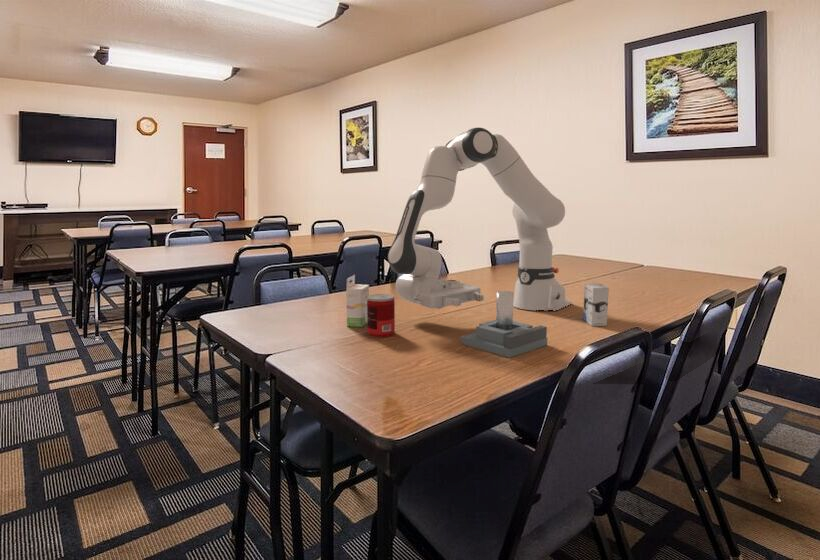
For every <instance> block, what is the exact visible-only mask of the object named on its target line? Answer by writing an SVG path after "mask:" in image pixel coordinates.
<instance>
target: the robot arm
mask: <svg viewBox="0 0 820 560" xmlns="http://www.w3.org/2000/svg"><path fill="white" fill-rule="evenodd" d="M478 164H481V165H483V166H485V168H486V169H487V171H488V172H489V174H490V175H491V177H492V178H493V180H494V181H495V183H496V184H497V185H498V187H499V188H500V189H501V191H502V192H503V193H504V194H505V196H507V197H508V198H509V199H510V200H511V201H513V202H514V204H513V206H512V216H513V218H514V220H515V224H516V230H517V234H518V243H519V265H518V266H517V270H516V271H517V277H518V278H517V280H516V282H515V285H514V286H515V287H514V302H513V308H516V309H521V310H527V311H536V310H537V311H538V310H544V311H548V310H553V311H552V312H557V311H556V310H558V311H560V310H562V309H564V308H566V307H568V305H569V306H570V304H571V305H572V304H573V303H572V300H570V299H566V289H565V286H563V285H562V284H561V283H560V282H559V281H558V280H557V279H556V278H555V277H556V276H555V274H559V272H560V271H559V270H560V269H559V267H553V243H552V241H551V239H550V236H549V231H548V229H550V228H553V227H556V226H558V225H560V223H561V222H562V221H564V218H565V216H566V215H565V214H566V207H565V204H564V203H563V201H561V200H560V199H559V198H557V197H556V196H555V195H554V194H552V193H551V191H549V189H548V188H547V187H546V186H545V185H544V184H543V183H542V182H541V181H540V180H539V179H537V178H538V177H536V176H535V175H534V173H532V171H531V170H530V168H529V167H528V165H527V164H526V162H525V161H524V159H522V157H521V156H520V154H519V153H518V151H517V150H516V149H515V147H514V146H513V144H511V143H510V141H509V140H507V139H506V138H505V137H504V136H503V135H502V134H497V133H495V134H492V132H491V131H489V130H488V129H486V128H483V127H472V128H470V129H468V130H466V131H463V132H461V133H459V134H458V135H457V136H455V137H454V138H453V139H451V140H449V141H448V142H447V143H446V144H445V145H437V146H434V147H432V148H431V149H430V150H429V151H428V154H427V156H426V158H425V162H424V165H423V168H422V172H421V177H420V178H421V179H420V182H419V185H418V188H416V190H414V191H413V192H412V193H411V194H410V196H409V197H408V200H407V202H406V205H405V206H404V207H405V208H404V211H403V213H402V216H401V220H400V223H399V225H398V228H397V231H396V232H397V233H396V235H395V238H394V239H393V242H392V244H391V246H390V248H389V250H388V253H387V260H388V264H389V267H390V269H391V270H392V271H393V272H394V273H395V274H398V275H399V274H401V275H400V276H398V277H397V279H396V281H395V285H394V286H395V292H396V293H397V295H398V296H399V297H400V298H401V299H403V300H405V301H406V302H408V303H409V302H410V303H413V304H417V305H421V306H423V307H425V308H429V309H437V310H438V309H443V308H444V307H445V308H446V307H449V306H453V307H458V306H461V305H462V304H464V303H468V302H472V301H473V302H474V301H476V302H483V301H484V300H485V296H484V294H482V293H481V292H482V291H481V288H480V287H479V286H477V285H473V284H469V283H466V282H465V283H464V282H460V280H457V279H447V280H446V279H443V278H440V277H441V274H442V271H443V266H444V265H443V263H444V262H443V258H442V254H441V253H440V251H439V250H437V249H434V248H432V247H428V246H426V245H425V246H424V245H421V244H418V243H416V242H415V238H416V236H417V235H416V234H417V233H418V230H419V229H418V228H419V225H420V222H421V219H422V217H423V215H424V214H425V213H427V212H430V211H434V210H440V209H443V208H445V207H447V206H448V205H449V204H450V203H451V202H452V200H453V197H454V195H455V190H456V185H457V184H456V183H457V178H458V173H459V172H461V171H464V170H467V169H471V168H473V167H476V166H477V165H478ZM565 306H566V307H565ZM563 307H564V308H563ZM561 308H562V309H561ZM559 309H560V310H559ZM537 311H536V312H537Z"/></svg>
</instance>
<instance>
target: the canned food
mask: <svg viewBox="0 0 820 560" xmlns="http://www.w3.org/2000/svg"><path fill="white" fill-rule="evenodd" d="M395 315H396V314H395V295H393V294H391V293H390V294H389V293H376V294H375V293H374V294H369V296H368V297H367V333H368V335H369V336H370V337H373V338H388V337H392V336H394V334H395V332H396V331H395V327H396V324H395V323H396V322H395V319H396V318H395Z"/></svg>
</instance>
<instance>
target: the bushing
mask: <svg viewBox="0 0 820 560" xmlns="http://www.w3.org/2000/svg"><path fill="white" fill-rule="evenodd" d="M514 294H515V291H514V292H513V291H510V290H509V291H508V290H500V291H499V290H498V291H496V302H495V303H496V305H495V306H496V309H495V320H496V328H498V329H502V330H506V331H507V330H510V329H513V321H514V306H513V302H514Z"/></svg>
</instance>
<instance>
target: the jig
mask: <svg viewBox="0 0 820 560" xmlns="http://www.w3.org/2000/svg"><path fill="white" fill-rule="evenodd" d="M533 326H534V325H531V324H527V323H523V322H518V321H515V320H513V329H510V330H507V331H506V330H502V329H498V328H496V319H493V320H489V321H485V322H482V323H479V324H478V326H476V327H475V332H473V333H472V332H471V333H470V334H469V333H468V334H466V335H465V334H464V335H461V336H460V337H461V339H460V343H461V344H462V345H465V346H467V347H471V348H475V349H477V350H478V349H479V350H481V351H482V350H483V351H484V352H488V353H492V354H496V355H499V356H502V357H505V358H514V357H515V356H518V355H522V354H524V353H528V352H530V351H534V350H536V348H537V349H539V347H540V348H542V346H543V347H545V345H546V346H548V336H547V334H548V333H547V332H548V328H547V327H548V326H543V325H537V326H534V327H533Z"/></svg>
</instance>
